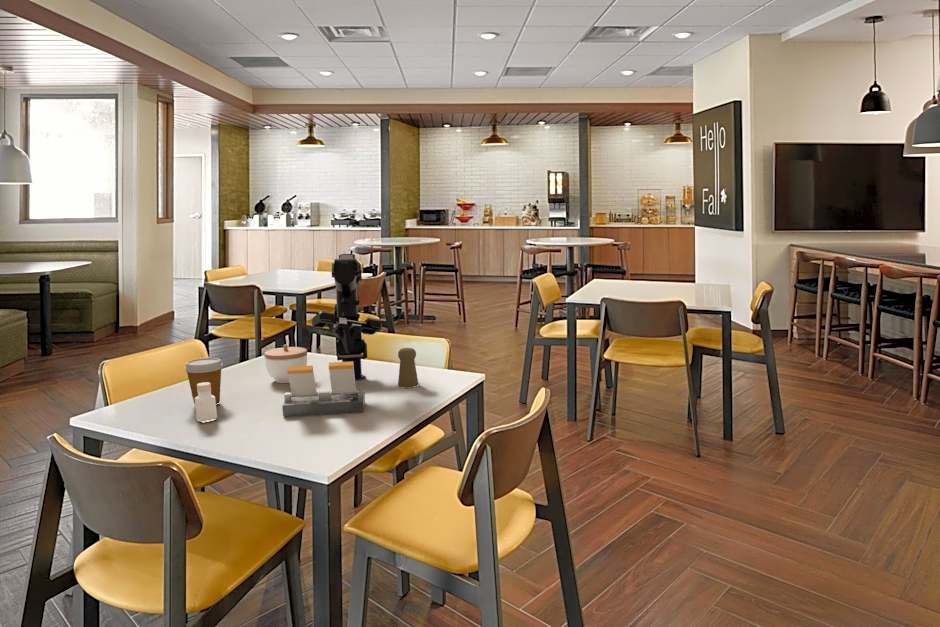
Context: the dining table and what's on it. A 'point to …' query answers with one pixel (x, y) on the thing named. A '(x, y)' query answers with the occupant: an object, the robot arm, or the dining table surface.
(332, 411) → the light switch frame
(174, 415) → the dining table surface
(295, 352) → the lidded bowl
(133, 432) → the dining table surface
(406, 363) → the pepper shaker
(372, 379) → the dining table surface
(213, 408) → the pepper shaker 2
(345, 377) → the panel
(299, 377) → the white orange-topped slab
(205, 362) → the disposable coffee cup
